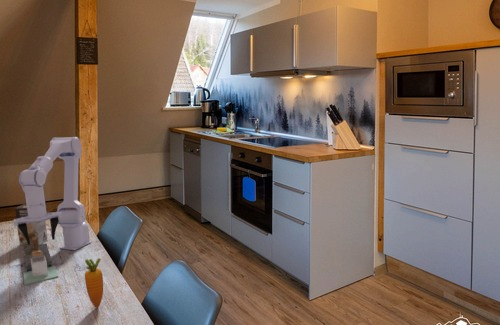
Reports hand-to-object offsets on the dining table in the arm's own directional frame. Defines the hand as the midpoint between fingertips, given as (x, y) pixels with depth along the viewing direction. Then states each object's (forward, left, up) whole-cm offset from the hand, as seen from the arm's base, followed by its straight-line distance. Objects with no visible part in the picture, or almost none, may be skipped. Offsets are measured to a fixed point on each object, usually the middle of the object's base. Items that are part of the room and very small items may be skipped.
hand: (41, 241), depth 144 cm
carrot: (+16, +38, -10) cm, 42 cm away
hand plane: (-5, -9, -10) cm, 15 cm away
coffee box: (-18, -26, -10) cm, 34 cm away
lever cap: (+5, +3, -10) cm, 11 cm away
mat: (+5, +3, -10) cm, 12 cm away
